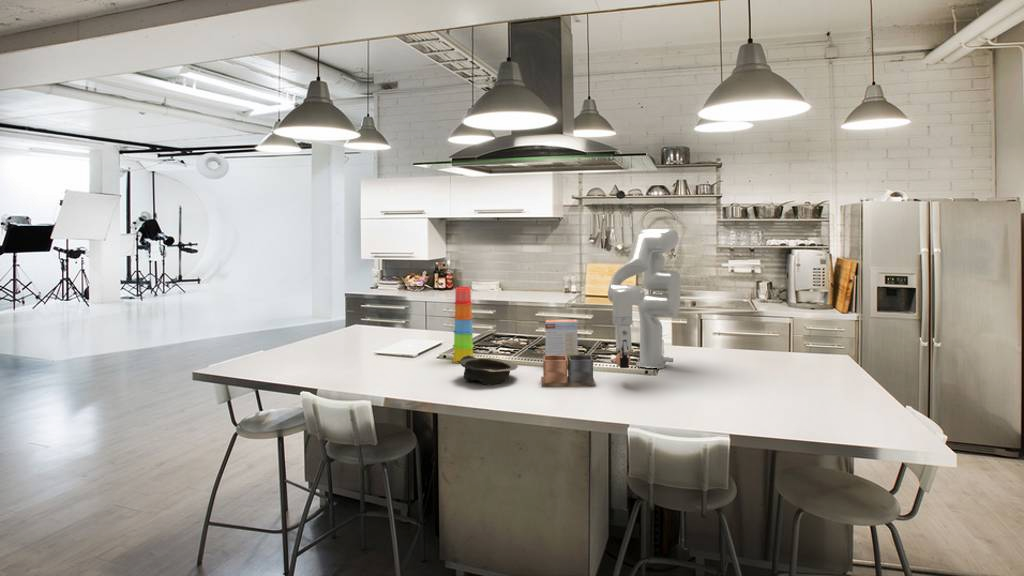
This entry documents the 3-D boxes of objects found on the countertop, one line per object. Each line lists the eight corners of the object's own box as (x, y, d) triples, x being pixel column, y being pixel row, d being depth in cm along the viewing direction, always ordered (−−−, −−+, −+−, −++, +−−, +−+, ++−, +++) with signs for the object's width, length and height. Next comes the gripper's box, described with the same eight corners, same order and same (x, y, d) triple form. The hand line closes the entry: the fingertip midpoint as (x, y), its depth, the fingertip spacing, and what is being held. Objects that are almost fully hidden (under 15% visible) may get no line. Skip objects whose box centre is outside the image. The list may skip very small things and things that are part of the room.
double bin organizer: (592, 378, 248) (592, 354, 246) (595, 386, 237) (595, 360, 236) (541, 379, 248) (540, 354, 247) (541, 386, 237) (541, 361, 236)
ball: (629, 364, 241) (629, 350, 240) (632, 369, 235) (631, 353, 234) (614, 365, 241) (614, 350, 240) (616, 369, 235) (616, 354, 234)
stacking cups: (476, 358, 287) (474, 285, 283) (472, 363, 277) (470, 288, 273) (454, 358, 288) (452, 286, 284) (450, 363, 278) (448, 288, 274)
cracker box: (577, 365, 271) (577, 319, 268) (577, 368, 265) (577, 321, 262) (546, 365, 272) (545, 319, 270) (545, 368, 266) (545, 321, 264)
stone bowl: (444, 381, 247) (445, 359, 246) (484, 373, 266) (485, 352, 266) (491, 390, 232) (492, 366, 231) (530, 381, 251) (530, 358, 251)
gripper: (636, 324, 226) (636, 371, 229) (628, 315, 244) (629, 359, 246) (615, 325, 227) (616, 371, 229) (609, 316, 244) (610, 360, 246)
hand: (623, 365), depth 238 cm, fingers closed on ball, 5 cm apart
